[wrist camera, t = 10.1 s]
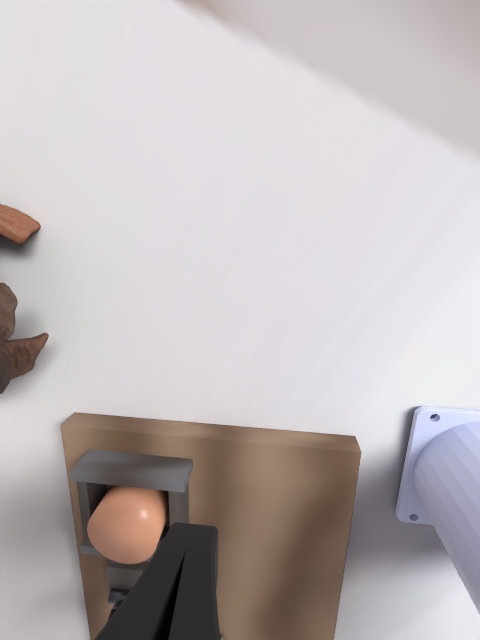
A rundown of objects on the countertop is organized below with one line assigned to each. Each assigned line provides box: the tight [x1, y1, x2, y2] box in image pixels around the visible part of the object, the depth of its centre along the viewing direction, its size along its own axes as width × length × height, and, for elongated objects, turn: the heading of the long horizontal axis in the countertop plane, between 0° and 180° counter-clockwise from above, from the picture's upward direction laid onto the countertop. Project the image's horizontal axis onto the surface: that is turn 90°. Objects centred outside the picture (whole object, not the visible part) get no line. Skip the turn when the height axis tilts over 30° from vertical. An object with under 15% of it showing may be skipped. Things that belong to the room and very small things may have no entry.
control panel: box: [61, 413, 361, 640], centre depth 22 cm, size 18×23×4 cm
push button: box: [87, 485, 169, 564], centre depth 19 cm, size 4×4×2 cm
